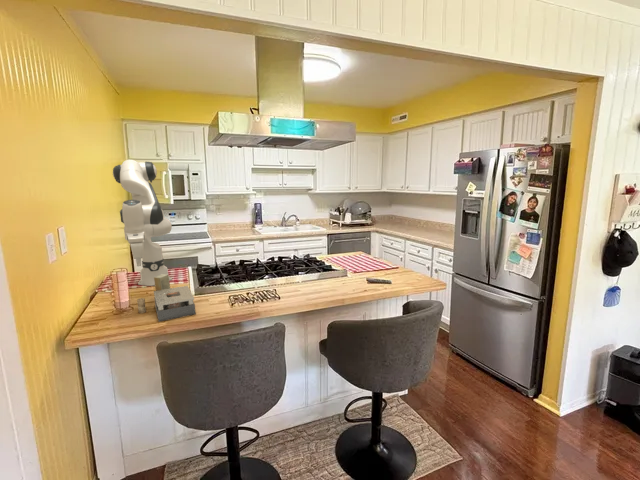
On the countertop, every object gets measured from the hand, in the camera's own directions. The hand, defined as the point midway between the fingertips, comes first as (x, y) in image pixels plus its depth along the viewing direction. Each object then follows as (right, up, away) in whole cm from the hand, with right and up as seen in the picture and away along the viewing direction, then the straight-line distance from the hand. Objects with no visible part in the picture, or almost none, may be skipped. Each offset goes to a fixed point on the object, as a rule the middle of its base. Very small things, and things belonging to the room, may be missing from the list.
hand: (138, 263), depth 163 cm
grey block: (+1, -24, +2) cm, 24 cm away
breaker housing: (+16, -23, +4) cm, 28 cm away
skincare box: (+2, -20, +21) cm, 29 cm away
